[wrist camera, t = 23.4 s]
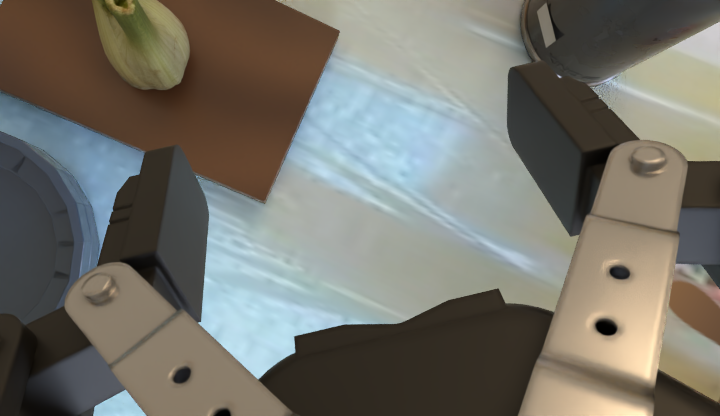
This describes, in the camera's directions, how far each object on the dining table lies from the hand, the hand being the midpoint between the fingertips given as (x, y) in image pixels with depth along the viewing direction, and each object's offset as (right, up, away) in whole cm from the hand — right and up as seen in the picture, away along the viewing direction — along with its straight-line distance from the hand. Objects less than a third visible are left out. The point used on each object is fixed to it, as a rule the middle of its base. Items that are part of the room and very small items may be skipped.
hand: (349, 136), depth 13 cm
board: (-13, +8, +24) cm, 28 cm away
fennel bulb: (-13, +8, +22) cm, 27 cm away
